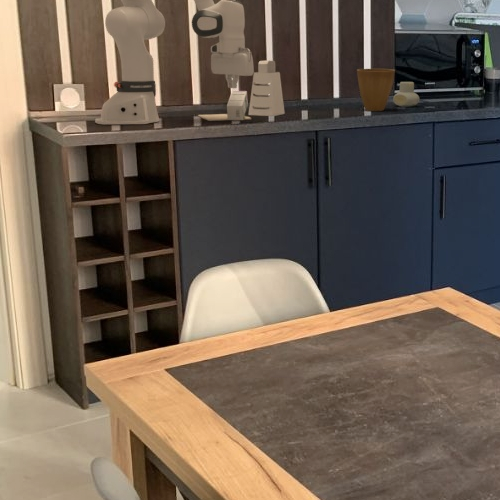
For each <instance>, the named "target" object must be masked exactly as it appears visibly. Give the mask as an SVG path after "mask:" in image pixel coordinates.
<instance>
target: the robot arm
mask: <svg viewBox="0 0 500 500" xmlns="http://www.w3.org/2000/svg"><path fill="white" fill-rule="evenodd" d="M193 1H194V4H195V7H196V8H197V10H198V11H197V12H195V13H194V14H193V16H192V18H191V28H192V30H193V32H194V33H195V34H196V35H197V36H199V37H201V38H205V39H207V38H208V39H212V40H216V39H217V40H218V42H217V43H215V44H213V45H211V47H210V53H211V56H210V67H211V68H210V70H211V73H212V74H215V75H225V80H226V82H227V88H229V89H237V88H238V82H239V79H240V76H243V77H249V76H251V77H253V76H254V73H255V69H254V67H255V66H254V59H253V55H252V51H251V50H250V49H249V48H248V47H246V46H245V45H246V42H245V41H246V39H245V38H246V36H245V31H244V30H245V25H246V19H245V17H246V16H245V9H244V4H243V3H242V2H241V1H239V0H219V1H218V2H217V3H216V2H215V0H193ZM120 2H121V4H122V5H123V6H118V7H115V8H113V9H111V10H110V11H109V12H108V13H107V14H106V17H105V20H104V22H105V29H106V31H107V33H108V34H109V35H110V36H111V38H112V39H113V40H114V42H115V45H116V47H117V49H118V54H119V57H120V67H121V80H120V81H115V82H114V83H113V86H114V88H116V91H117V92H116V93H114V94H113V95H112V96H110V98H108V99H107V100H106V101H105V102H104V103H103V105H102V106H101V111H100V112H101V113H100V116H101V117H97V118H95V119H94V123H96V124H98V125H147V124H151V123H156V122H160V118H159V114H158V109H157V103H156V94H157V89H156V88H157V87H156V86H157V84H156V80H155V72H154V58H153V55H151V54H150V52H149V51H148V49H147V47H146V44H145V40H152V39H155V38H157V37H159V36H161V35H162V34H163V33H164V31H165V28H166V19H165V17H164V15H163V13H162V12H161V11H160V10H158V8H157V7H156V5H155V4H154V2H153V0H120Z"/></svg>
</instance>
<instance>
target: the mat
mask: <svg viewBox="0 0 500 500" xmlns="http://www.w3.org/2000/svg"><path fill="white" fill-rule="evenodd" d="M197 117H198V118H201V119H203V120H206V121H209V122H210V121H229V120H228V116H227V113H219V114H218V113H217V114H216V113H215V114H213V113H212V114H198V115H197ZM245 120H252V117H250V116H246V115H245V116H244V119H243V120H242V121H245Z"/></svg>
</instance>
